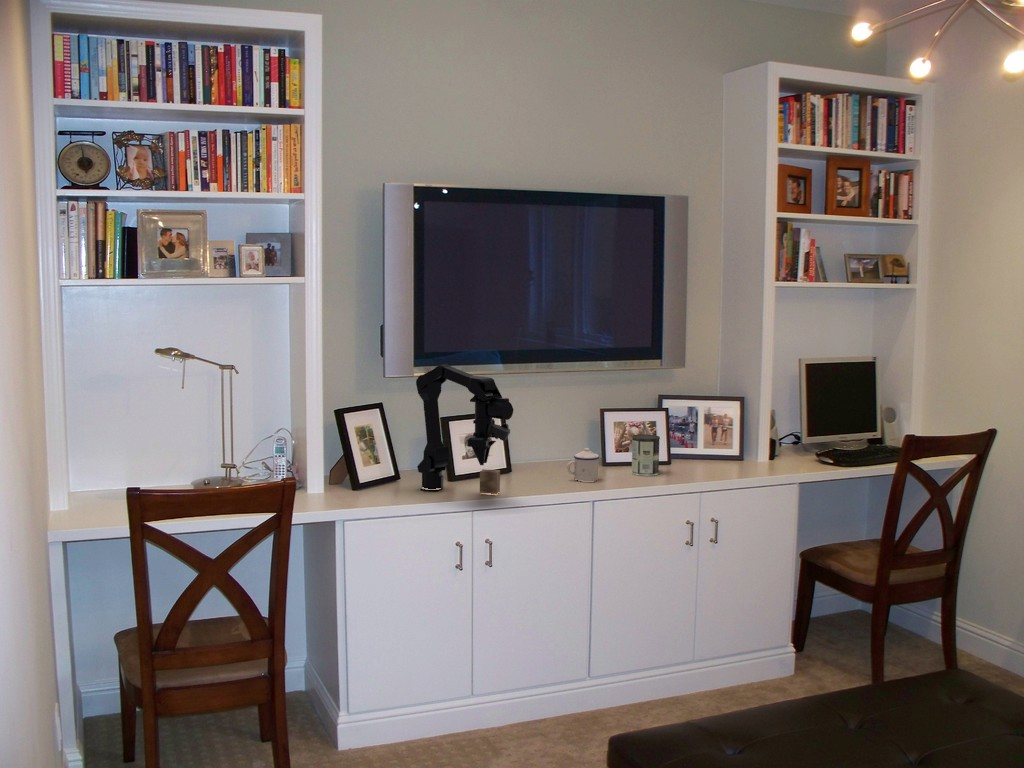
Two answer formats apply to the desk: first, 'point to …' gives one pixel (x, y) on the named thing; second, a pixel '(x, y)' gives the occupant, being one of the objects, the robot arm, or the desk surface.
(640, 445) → the coffee can
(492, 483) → the tall walnut block
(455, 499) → the desk surface
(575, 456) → the teacup with lid
